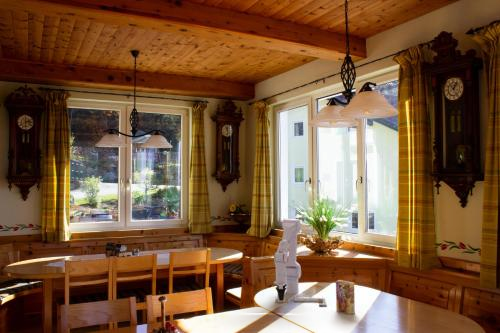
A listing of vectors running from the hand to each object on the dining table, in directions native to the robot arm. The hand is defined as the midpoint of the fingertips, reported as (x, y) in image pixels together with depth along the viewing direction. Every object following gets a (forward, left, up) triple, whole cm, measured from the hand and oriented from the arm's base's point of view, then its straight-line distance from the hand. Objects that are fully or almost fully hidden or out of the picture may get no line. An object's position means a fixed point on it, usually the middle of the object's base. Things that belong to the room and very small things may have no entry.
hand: (281, 298), depth 235 cm
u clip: (0, 0, -1) cm, 1 cm away
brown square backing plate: (0, 0, -2) cm, 2 cm away
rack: (0, +15, -2) cm, 15 cm away
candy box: (+14, +33, -2) cm, 36 cm away
